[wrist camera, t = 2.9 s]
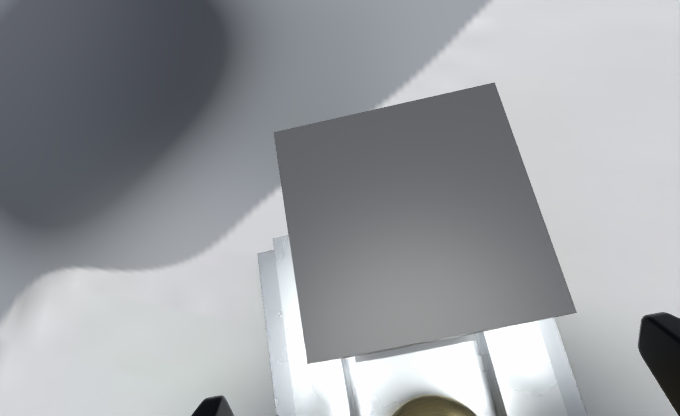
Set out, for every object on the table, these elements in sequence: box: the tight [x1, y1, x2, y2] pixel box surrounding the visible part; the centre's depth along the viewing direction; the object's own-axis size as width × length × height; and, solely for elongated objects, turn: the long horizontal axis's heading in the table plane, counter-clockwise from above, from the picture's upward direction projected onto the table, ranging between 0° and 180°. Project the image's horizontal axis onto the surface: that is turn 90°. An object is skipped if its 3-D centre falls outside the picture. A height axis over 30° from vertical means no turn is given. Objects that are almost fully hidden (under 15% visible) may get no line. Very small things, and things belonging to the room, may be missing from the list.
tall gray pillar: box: [274, 83, 577, 364], centre depth 12 cm, size 4×4×13 cm
